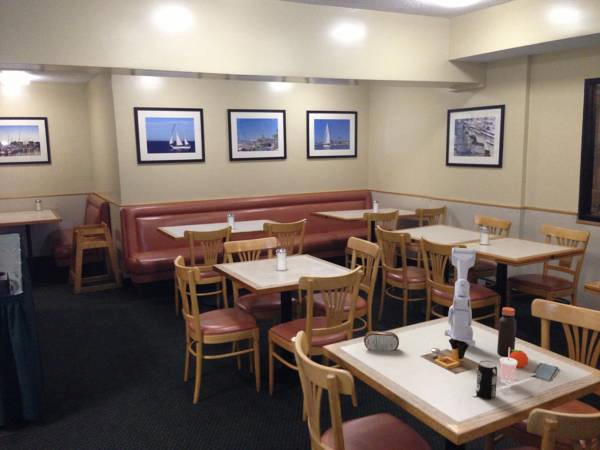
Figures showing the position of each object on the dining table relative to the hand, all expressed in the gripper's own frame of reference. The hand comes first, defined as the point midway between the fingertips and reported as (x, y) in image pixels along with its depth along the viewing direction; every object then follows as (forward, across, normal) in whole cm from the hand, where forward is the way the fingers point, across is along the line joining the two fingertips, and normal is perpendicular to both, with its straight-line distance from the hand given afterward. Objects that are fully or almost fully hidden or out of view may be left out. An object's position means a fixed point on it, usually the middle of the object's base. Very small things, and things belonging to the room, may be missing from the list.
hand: (458, 357), depth 214 cm
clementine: (+2, +14, +18) cm, 23 cm away
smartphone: (+3, +24, +22) cm, 33 cm away
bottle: (+2, +4, +24) cm, 25 cm away
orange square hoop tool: (+1, 0, -4) cm, 4 cm away
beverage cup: (+2, +22, +2) cm, 23 cm away
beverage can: (+2, +26, -14) cm, 29 cm away
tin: (+3, -26, -20) cm, 32 cm away
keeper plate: (+2, -2, -2) cm, 4 cm away
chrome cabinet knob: (+2, -6, -6) cm, 9 cm away
